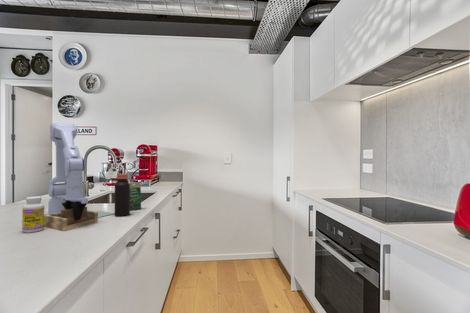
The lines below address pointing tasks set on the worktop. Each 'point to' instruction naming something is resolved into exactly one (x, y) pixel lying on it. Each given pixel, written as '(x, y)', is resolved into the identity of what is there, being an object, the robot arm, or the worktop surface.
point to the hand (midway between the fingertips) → (74, 219)
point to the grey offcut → (56, 214)
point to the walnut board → (70, 216)
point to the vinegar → (122, 196)
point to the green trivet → (103, 213)
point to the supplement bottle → (33, 215)
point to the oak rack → (62, 222)
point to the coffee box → (135, 197)
